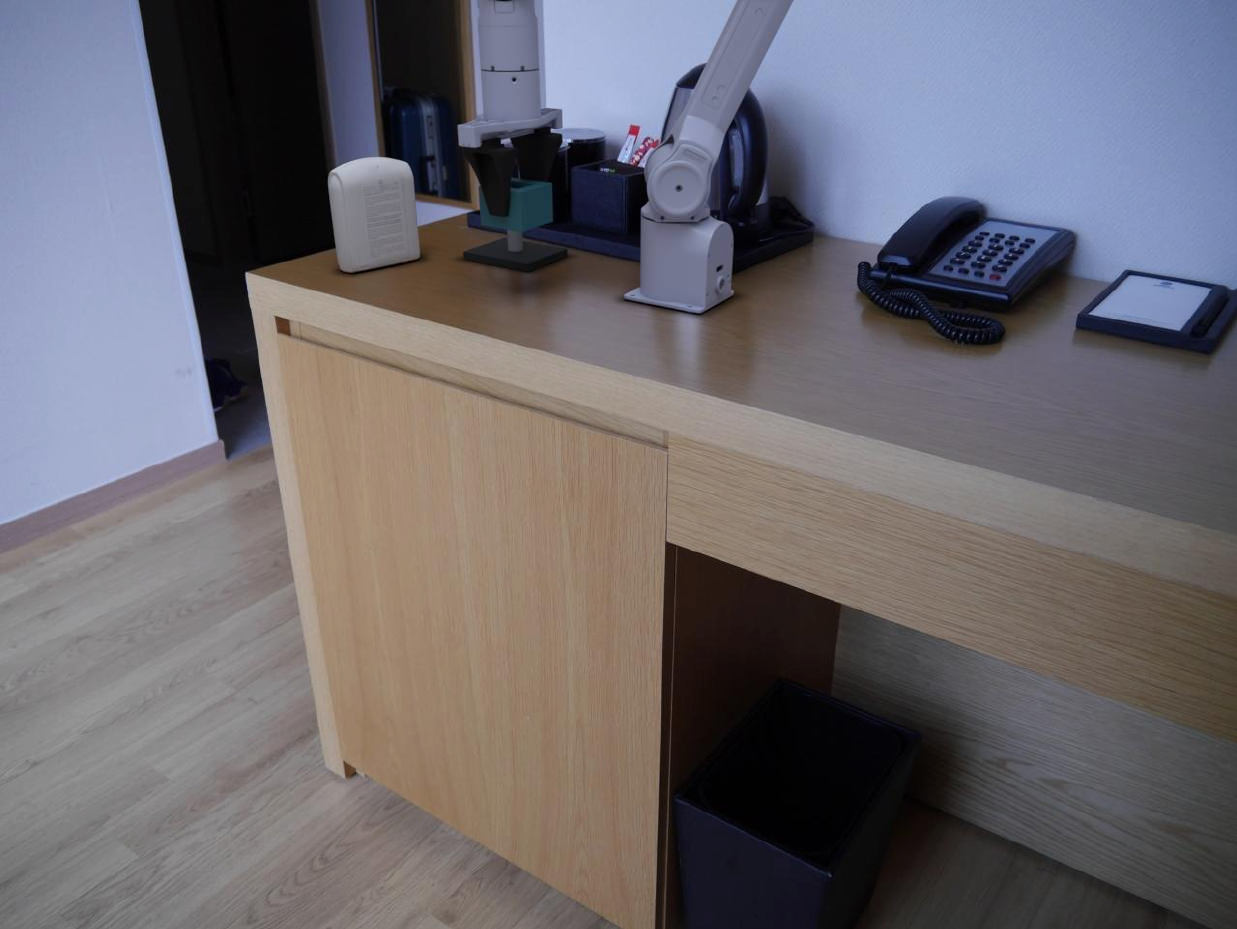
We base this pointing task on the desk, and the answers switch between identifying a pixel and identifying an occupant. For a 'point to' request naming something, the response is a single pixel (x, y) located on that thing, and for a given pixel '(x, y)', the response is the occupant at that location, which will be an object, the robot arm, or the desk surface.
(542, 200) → the teal block with hole
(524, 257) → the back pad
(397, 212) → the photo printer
